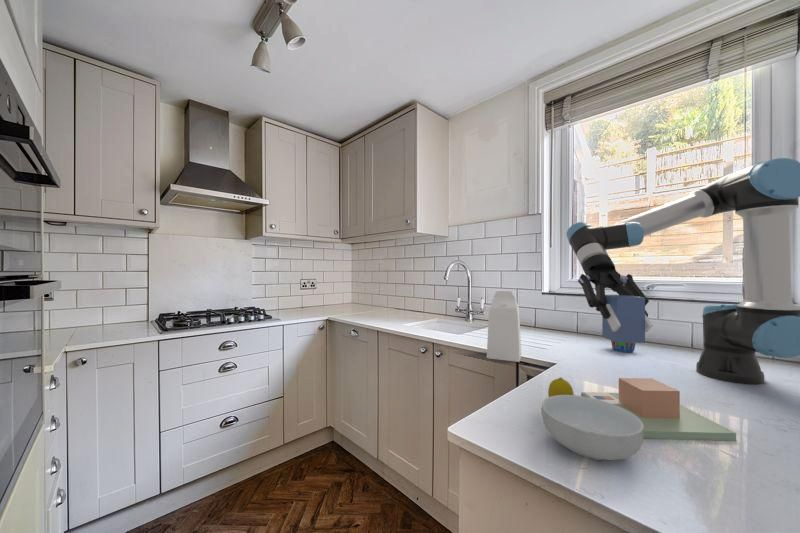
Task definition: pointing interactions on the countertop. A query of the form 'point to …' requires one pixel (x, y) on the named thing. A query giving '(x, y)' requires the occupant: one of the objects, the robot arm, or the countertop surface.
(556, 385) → the lemon
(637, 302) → the navy brick
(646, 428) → the baseplate tower
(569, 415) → the cereal bowl
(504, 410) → the countertop surface
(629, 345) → the snack cup
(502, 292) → the milk
